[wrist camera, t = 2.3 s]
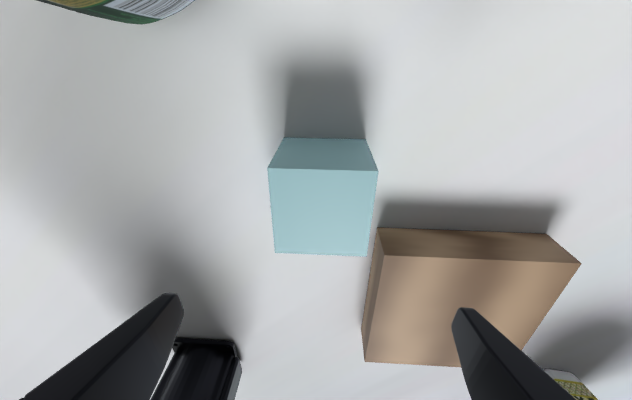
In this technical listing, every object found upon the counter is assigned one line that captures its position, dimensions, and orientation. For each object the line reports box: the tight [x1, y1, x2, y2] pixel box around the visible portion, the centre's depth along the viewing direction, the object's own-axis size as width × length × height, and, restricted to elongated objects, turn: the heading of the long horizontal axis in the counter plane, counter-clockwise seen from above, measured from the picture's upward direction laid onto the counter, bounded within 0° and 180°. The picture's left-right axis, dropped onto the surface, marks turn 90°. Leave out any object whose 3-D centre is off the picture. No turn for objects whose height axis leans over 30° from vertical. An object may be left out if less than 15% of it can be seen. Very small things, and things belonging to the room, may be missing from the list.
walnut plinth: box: [361, 228, 582, 367], centre depth 20 cm, size 12×12×3 cm
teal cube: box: [267, 137, 378, 257], centre depth 15 cm, size 5×5×5 cm
